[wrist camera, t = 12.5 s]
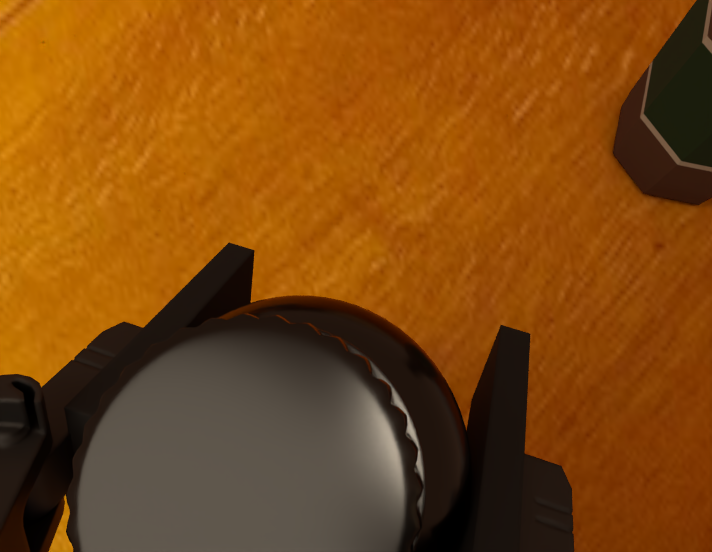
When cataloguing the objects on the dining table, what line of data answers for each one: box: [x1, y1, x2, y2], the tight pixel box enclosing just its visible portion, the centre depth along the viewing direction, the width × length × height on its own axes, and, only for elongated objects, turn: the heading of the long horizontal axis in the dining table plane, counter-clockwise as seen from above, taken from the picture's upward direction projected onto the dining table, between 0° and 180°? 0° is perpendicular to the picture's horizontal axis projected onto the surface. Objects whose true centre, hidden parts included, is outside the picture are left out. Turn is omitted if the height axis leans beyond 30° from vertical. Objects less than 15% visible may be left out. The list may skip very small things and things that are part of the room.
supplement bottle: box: [66, 296, 472, 552], centre depth 13 cm, size 7×7×12 cm
